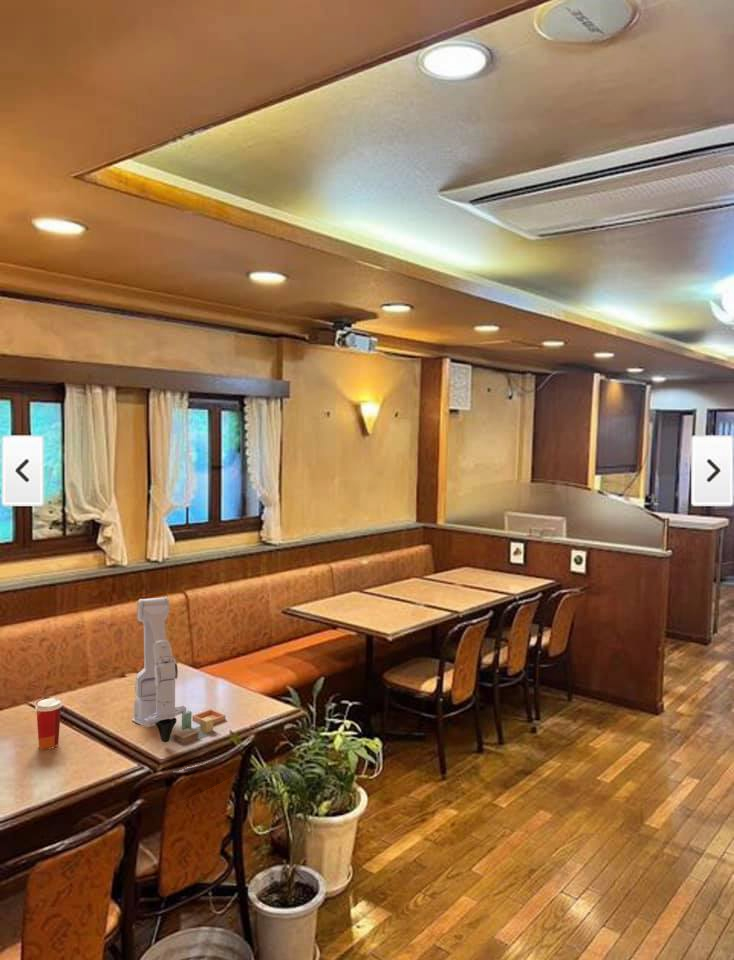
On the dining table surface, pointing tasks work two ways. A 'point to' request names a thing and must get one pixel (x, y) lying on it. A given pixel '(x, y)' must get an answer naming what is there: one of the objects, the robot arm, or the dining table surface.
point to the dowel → (186, 720)
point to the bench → (200, 735)
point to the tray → (210, 713)
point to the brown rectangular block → (185, 735)
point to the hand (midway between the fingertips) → (165, 741)
